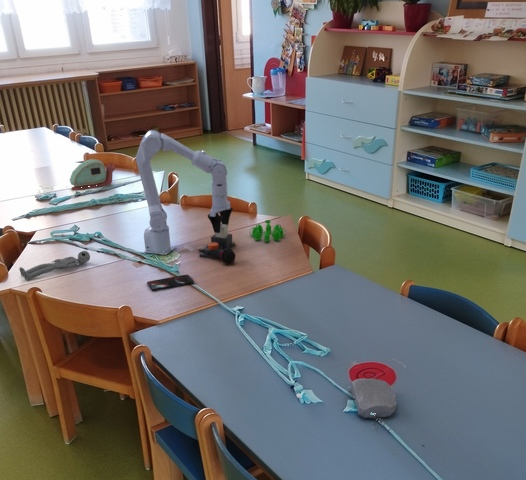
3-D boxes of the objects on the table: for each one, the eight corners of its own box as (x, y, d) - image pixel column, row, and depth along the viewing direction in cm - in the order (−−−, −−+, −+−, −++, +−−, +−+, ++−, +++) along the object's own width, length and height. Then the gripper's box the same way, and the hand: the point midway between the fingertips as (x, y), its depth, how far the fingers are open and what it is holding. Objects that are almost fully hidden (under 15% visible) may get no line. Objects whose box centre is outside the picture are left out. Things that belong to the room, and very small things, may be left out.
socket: (211, 249, 226) (210, 237, 224) (217, 244, 231) (217, 232, 228) (226, 251, 224) (226, 239, 222) (232, 246, 229) (232, 234, 226)
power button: (206, 249, 219) (206, 245, 218) (210, 245, 222) (210, 241, 221) (215, 250, 218) (215, 246, 217) (220, 247, 221) (220, 242, 220)
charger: (215, 241, 225) (214, 226, 222) (218, 238, 228) (218, 223, 225) (224, 242, 224) (224, 227, 221) (228, 239, 227) (227, 224, 224)
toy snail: (73, 191, 299) (68, 164, 292) (69, 188, 305) (64, 161, 298) (119, 184, 311) (116, 158, 304) (114, 181, 316) (111, 155, 309)
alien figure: (16, 264, 203) (84, 246, 215) (20, 277, 206) (87, 258, 218) (23, 271, 198) (92, 253, 210) (27, 284, 200) (95, 265, 212)
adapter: (199, 257, 219) (199, 249, 218) (217, 243, 232) (216, 236, 230) (218, 259, 217) (218, 252, 215) (235, 245, 230) (235, 238, 228)
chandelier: (266, 246, 228) (266, 229, 225) (242, 237, 238) (241, 220, 234) (293, 237, 237) (293, 221, 233) (269, 228, 246) (269, 213, 243)
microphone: (196, 260, 224) (230, 268, 210) (191, 247, 220) (224, 254, 207) (206, 252, 226) (240, 259, 213) (200, 240, 223) (235, 246, 209)
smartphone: (194, 281, 198) (151, 289, 192) (194, 283, 198) (152, 291, 193) (187, 274, 203) (146, 281, 198) (187, 275, 204) (146, 283, 198)
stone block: (384, 394, 144) (346, 389, 142) (390, 378, 141) (351, 374, 139) (397, 425, 134) (356, 420, 132) (404, 409, 131) (362, 404, 129)
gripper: (221, 200, 210) (222, 236, 217) (236, 190, 221) (237, 224, 228) (203, 198, 212) (206, 234, 219) (220, 188, 223) (221, 222, 230)
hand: (221, 229), depth 224 cm, fingers open, 7 cm apart
